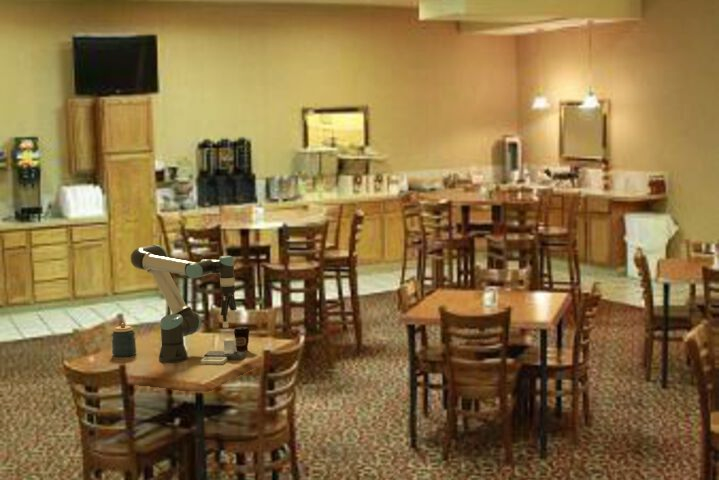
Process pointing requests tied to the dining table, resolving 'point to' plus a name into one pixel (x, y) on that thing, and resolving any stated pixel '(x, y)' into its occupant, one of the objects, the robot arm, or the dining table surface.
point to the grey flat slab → (237, 356)
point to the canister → (123, 341)
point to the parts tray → (213, 360)
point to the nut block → (229, 346)
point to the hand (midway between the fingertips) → (229, 324)
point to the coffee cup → (241, 338)
